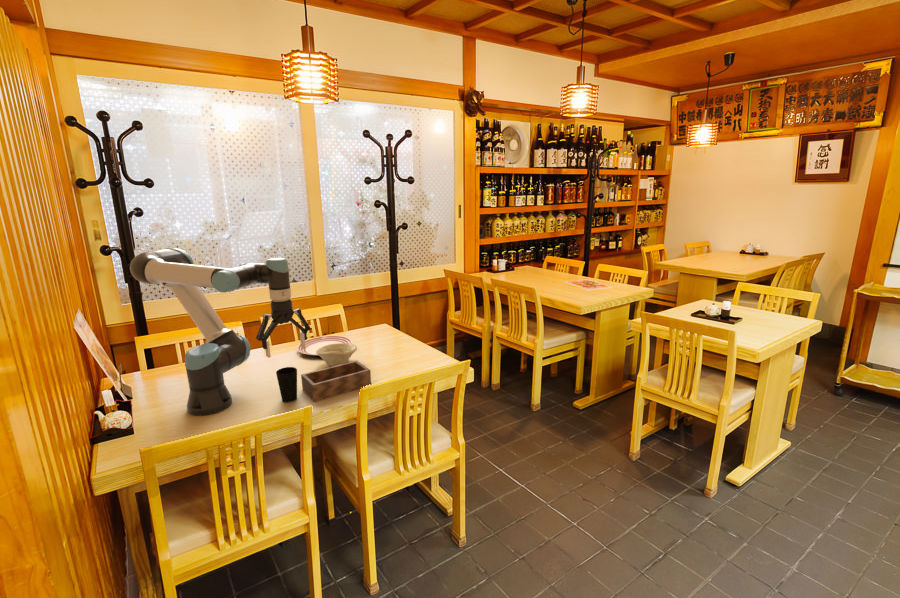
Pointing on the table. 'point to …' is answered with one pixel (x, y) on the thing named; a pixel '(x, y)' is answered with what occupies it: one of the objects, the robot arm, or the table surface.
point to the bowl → (336, 353)
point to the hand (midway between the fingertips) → (286, 352)
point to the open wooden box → (335, 380)
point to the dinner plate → (321, 343)
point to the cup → (287, 383)
